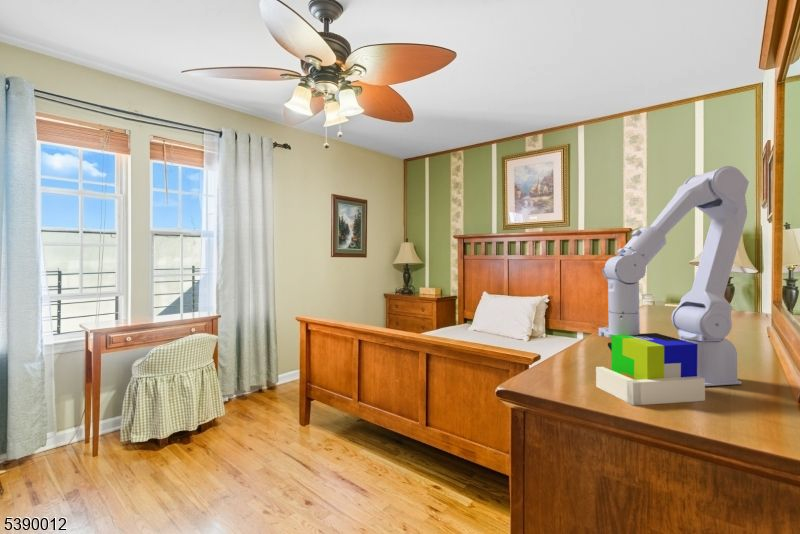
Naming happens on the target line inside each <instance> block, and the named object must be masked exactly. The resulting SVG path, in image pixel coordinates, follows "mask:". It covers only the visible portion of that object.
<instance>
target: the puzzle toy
mask: <svg viewBox="0 0 800 534" xmlns="http://www.w3.org/2000/svg"><path fill="white" fill-rule="evenodd" d="M637 336H638V337H637ZM645 336H646V337H645ZM633 337H635V338H633ZM640 337H642V338H640ZM647 337H648V338H647ZM638 338H640V339H638ZM643 338H646V339H649V338H651V339H654V340H642V339H643ZM611 342H612V352H611V368H610V370H612V371H614V372H617V373H619V374H622V375H624V376H626V377H629V378H631V379H634V380H643V379H661V378H678V377H695V376H697V347H698V344H695V343H691V342H688V341H684V340H680V339H679V338H675V337H673V336H668V335H664V334H661V333H657V332H653V333H652V332H651V333H650V332H649V333H640V334H639V335H612V339H611Z"/></svg>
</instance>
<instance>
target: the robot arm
mask: <svg viewBox="0 0 800 534" xmlns="http://www.w3.org/2000/svg"><path fill="white" fill-rule="evenodd" d="M749 182H750V181H749V180H748V179H747V177H746V176H745V175H744V173H742V171H741V170H740V169H738V168H737V167H735V166H733V165H732V166H731V165H724V166H721V167H719V168H717V169H714V170H711V171H709V172H704V173H702V174H698V175H696V174H695V175H692V176H690V177H688V178H687V179H686V180H685V181H684V182H683V184H682V185H680V186H679V187H678V188H677V189H676V192H675V194H674V196H673V197H672V198H671V199H670V200H669V202H668V203H667V204H666V205H665V207H664V208H663V209H662V211H661V212H660V213H659V215H658V216H657V217H656V218H655V219H654V220H653V222H652V223H651V224H650V226H644V227H640V228H639V229H635V230H633V232H632V233H631V236H632V237H631V238H630V240H628V242H627V243H626V244H625V245H624V246H623V247H622V248H618V250H617V251H616V253H617V255H616V256H615V255H614V256H612V257H610V258H608V259H607V260H606V262H605V263H604V264H605V265H604V268H602V269H601V271H602V275H603V277H604V278H605V279H606V281H607V283H608V284H607V287H608V288H607V299H608V300H607V301H608V302H607V304H608V309H607V311H608V312H607V313H608V318H607V319H608V327H605V326H604V327H603V326H602V327H598V337H601V338H603V337H605V338H608V339H611V340H612V335H639V334H641V333H640V330H641V329H640V280H641V279H643V278H644V277H645V275H646V272H647V265H649V264H650V263H651V261H652V260H653V259H654V257H656V256H657V254H658V253H659V252H660V251H661V250H662V248H664V247H665V246H666V244H667V238H666V235H667V234H668V233H669V232H670V231H671V230H673V228H674V227H675V226H676V225H677V224H678V223H679V222H680V221H681V220H682V219H684V217H685V216H686V215H687V214H688V213H689V212H690V211H691V210H692V209H694V208H695V207H696V209H698V210H700V211H701V212H702V213H704V214H706V216H708V218H709V219H710V223H709V228H708V231H707V235H706V238H705V242H704V244H703V248H702V252H701V256H700V258H699V262H698V265H697V269H696V272H695V275H694V279H693V280H694V281H693V284H692V286H691V289H690V291H688V292H687V293H686V294H684V295H683V296H682V297H681V298H680V300H679V301H680V302H679V304H678V305H677V306H676V308H675V309H673V311H672V313H671V323H672V326H673V327H674V328H675V329H676V330H677V335H678V336H679V338H678V339H680V340H684V341H688V342H691V343H695V344H698V347H697V376H698V377H701V378H704V379H705V387H711V386H712V387H715V386H730V385H742V381H740V380H739V379H738V351H737V349H736V347H735V344H734V343H733V342H732V341H731V340H729V339H728V338H726V337H728V335H730V332H731V331H732V328H733V322H732V317H731V314H732V310H733V307H732V304H730V302H729V301H728V300H727V299H726V298H725V293H726V289H727V286H728V282H729V281H730V280H729V279H730V275H731V271H732V269H733V265H734V261H735V258H736V256H737V251H738V247H739V244H740V241H741V238H742V234H743V230H744V227H745V224H746V220H747V217H748V209H747V202H746V201H747V200H746V194H747V190H748V186H749ZM637 337H638V336H637ZM645 337H646V336H645ZM633 338H635V337H633ZM640 338H642V337H640ZM640 338H638V339H640ZM647 338H648V337H647ZM642 340H654V339H651V338H649V339H646V338H643V339H642ZM607 347H608V349H609V350H610V351H611V353H612V341H610V342H607Z"/></svg>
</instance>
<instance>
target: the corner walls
mask: <svg viewBox="0 0 800 534" xmlns="http://www.w3.org/2000/svg"><path fill="white" fill-rule="evenodd" d="M595 383H596V384H595V387H596V388H599V389H600V390H602V391H604V392H606V393H608V394H610V395H612V396H614V397H615V398H617V399H620V400H622V401H624V402H625V403H627V404H630V405H632V406H642V405H643V406H645V405H646V406H647V405H657V404H658V405H659V404H660V405H661V404H675V403H677V404H678V403H690V402H691V403H692V402H693V403H694V402H705V401H706V386H705V379H704V378H701V377H698V376H695V377H678V378H661V379H643V380H634V379H631V378H629V377H626V376H624V375H622V374H619V373H617V372H614V371H612V370H611V368H610V369H609V368H607V367H605V366H596V367H595Z"/></svg>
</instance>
